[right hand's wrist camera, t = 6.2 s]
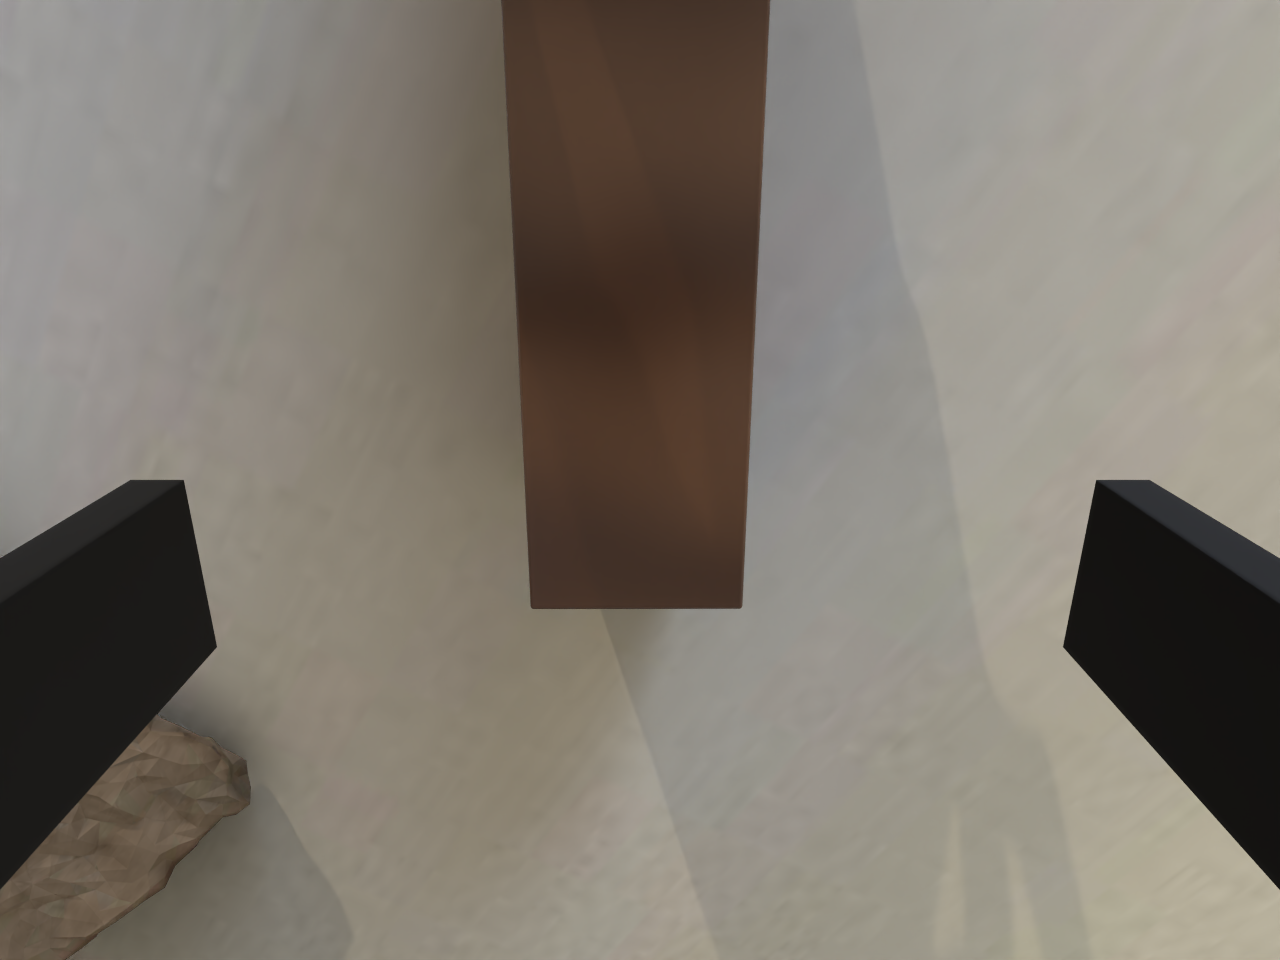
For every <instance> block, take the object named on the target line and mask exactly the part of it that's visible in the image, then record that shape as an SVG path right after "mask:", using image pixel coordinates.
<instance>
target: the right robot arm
mask: <svg viewBox="0 0 1280 960" xmlns="http://www.w3.org/2000/svg"><path fill="white" fill-rule="evenodd" d="M216 647H217V645H216V640H215V635H214V630H213V625H212V620H211V615H210V610H209V605H208V600H207V595H206V590H205V585H204V580H203V575H202V570H201V565H200V559H199V554H198V549H197V544H196V539H195V534H194V529H193V524H192V519H191V514H190V509H189V504H188V499H187V494H186V489H185V484H184V480H130V481H128V482H126V483H125V484H123V485H121V486H120V487H118V488H116V489H115V490H113V491H111V492H110V493H108V494H107V495H105V496H103V497H102V498H100V499H98V500H97V501H95V502H93V503H92V504H90V505H88V506H87V507H85V508H83V509H82V510H80V511H78V512H77V513H75V514H73V515H72V516H70V517H68V518H67V519H65V520H63V521H62V522H60V523H58V524H57V525H55V526H53V527H52V528H50V529H48V530H47V531H45V532H43V533H42V534H40V535H38V536H37V537H35V538H33V539H32V540H30V541H28V542H27V543H25V544H24V545H22V546H20V547H19V548H17V549H15V550H14V551H12V552H10V553H9V554H7V555H5V556H4V557H2V558H0V889H1V888H2V887H3V886H4V885H5V884H6V883H7V882H8V880H9V879H10V878H11V877H12V876H13V875H14V874H15V873H16V871H17V870H18V869H19V868H20V867H21V866H22V865H23V864H24V863H25V861H26V860H27V859H28V858H29V857H30V856H31V855H32V854H33V852H34V851H35V850H36V849H37V848H38V847H39V846H40V845H41V843H42V842H43V841H44V840H45V839H46V838H47V837H48V836H49V835H50V833H51V832H52V831H53V830H54V829H55V828H56V827H57V826H58V824H59V823H60V822H61V821H62V820H63V819H64V818H65V817H66V815H67V814H68V813H69V812H70V811H71V810H72V809H73V808H74V807H75V805H76V804H77V803H78V802H79V801H80V800H81V799H82V798H83V796H84V795H85V794H86V793H87V792H88V791H89V790H90V789H91V787H92V786H93V785H94V784H95V783H96V782H97V781H98V780H99V779H100V777H101V776H102V775H103V774H104V773H105V772H106V771H107V770H108V768H109V767H110V766H111V765H112V764H113V763H114V762H115V761H116V759H117V758H118V757H119V756H120V755H121V754H122V753H123V752H124V751H125V749H126V748H127V747H128V746H129V745H130V744H131V743H132V742H133V740H134V739H135V738H136V737H137V736H138V735H139V734H140V733H141V731H142V730H143V729H144V728H145V727H146V726H147V725H148V724H149V723H150V721H151V720H152V719H153V718H154V717H155V716H156V715H157V714H158V712H159V711H160V710H161V709H162V708H163V707H164V706H165V705H166V703H167V702H168V701H169V700H170V699H171V698H172V697H173V696H174V695H175V693H176V692H177V691H178V690H179V689H180V688H181V687H182V686H183V684H184V683H185V682H186V681H187V680H188V679H189V678H190V677H191V675H192V674H193V673H194V672H195V671H196V670H197V669H198V668H199V667H200V665H201V664H202V663H203V662H204V661H205V660H206V659H207V658H208V656H209V655H210V654H211V653H212V652H213V651H214V650H215V649H216ZM1063 647H1064V649H1065V650H1066V651H1067V652H1068V653H1069V654H1070V655H1071V656H1072V658H1073V659H1074V660H1075V661H1076V662H1077V663H1078V664H1079V665H1080V667H1081V668H1082V669H1083V670H1084V671H1085V672H1086V673H1087V674H1088V675H1089V677H1090V678H1091V679H1092V680H1093V681H1094V682H1095V683H1096V684H1097V686H1098V687H1099V688H1100V689H1101V690H1102V691H1103V692H1104V693H1105V695H1106V696H1107V697H1108V698H1109V699H1110V700H1111V701H1112V702H1113V703H1114V705H1115V706H1116V707H1117V708H1118V709H1119V710H1120V711H1121V712H1122V714H1123V715H1124V716H1125V717H1126V718H1127V719H1128V720H1129V721H1130V723H1131V724H1132V725H1133V726H1134V727H1135V728H1136V729H1137V730H1138V731H1139V733H1140V734H1141V735H1142V736H1143V737H1144V738H1145V739H1146V740H1147V742H1148V743H1149V744H1150V745H1151V746H1152V747H1153V748H1154V749H1155V751H1156V752H1157V753H1158V754H1159V755H1160V756H1161V757H1162V758H1163V759H1164V761H1165V762H1166V763H1167V764H1168V765H1169V766H1170V767H1171V768H1172V770H1173V771H1174V772H1175V773H1176V774H1177V775H1178V776H1179V777H1180V779H1181V780H1182V781H1183V782H1184V783H1185V784H1186V785H1187V786H1188V787H1189V789H1190V790H1191V791H1192V792H1193V793H1194V794H1195V795H1196V796H1197V798H1198V799H1199V800H1200V801H1201V802H1202V803H1203V804H1204V805H1205V807H1206V808H1207V809H1208V810H1209V811H1210V812H1211V813H1212V814H1213V815H1214V817H1215V818H1216V819H1217V820H1218V821H1219V822H1220V823H1221V824H1222V826H1223V827H1224V828H1225V829H1226V830H1227V831H1228V832H1229V833H1230V835H1231V836H1232V837H1233V838H1234V839H1235V840H1236V841H1237V842H1238V843H1239V845H1240V846H1241V847H1242V848H1243V849H1244V850H1245V851H1246V852H1247V854H1248V855H1249V856H1250V857H1251V858H1252V859H1253V860H1254V861H1255V863H1256V864H1257V865H1258V866H1259V867H1260V868H1261V869H1262V870H1263V871H1264V873H1265V874H1266V875H1267V876H1268V877H1269V878H1270V879H1271V880H1272V882H1273V883H1274V884H1275V885H1276V886H1277V887H1278V888H1279V889H1280V558H1278V557H1276V556H1275V555H1273V554H1271V553H1270V552H1268V551H1266V550H1265V549H1263V548H1261V547H1260V546H1258V545H1256V544H1255V543H1253V542H1252V541H1250V540H1248V539H1247V538H1245V537H1243V536H1242V535H1240V534H1238V533H1237V532H1235V531H1233V530H1232V529H1230V528H1228V527H1227V526H1225V525H1223V524H1222V523H1220V522H1218V521H1217V520H1215V519H1213V518H1212V517H1210V516H1208V515H1207V514H1205V513H1203V512H1202V511H1200V510H1198V509H1197V508H1195V507H1193V506H1192V505H1190V504H1188V503H1187V502H1185V501H1183V500H1182V499H1180V498H1178V497H1177V496H1175V495H1173V494H1172V493H1170V492H1169V491H1167V490H1165V489H1164V488H1162V487H1160V486H1159V485H1157V484H1155V483H1154V482H1152V481H1150V480H1096V484H1095V489H1094V494H1093V499H1092V504H1091V509H1090V514H1089V519H1088V524H1087V529H1086V534H1085V539H1084V544H1083V549H1082V554H1081V559H1080V565H1079V570H1078V575H1077V580H1076V585H1075V590H1074V595H1073V600H1072V605H1071V610H1070V615H1069V620H1068V625H1067V630H1066V635H1065V640H1064V645H1063Z"/></svg>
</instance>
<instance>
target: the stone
mask: <svg viewBox="0 0 1280 960" xmlns="http://www.w3.org/2000/svg"><path fill="white" fill-rule="evenodd" d="M250 789H251V787H250V782H249V778H248V773H247V764H246V760H244V759H243V758H241V757H240V756H238V755H236V754H234V753H232V752H230V751H228V750H226V749H224V748H222V747H220V746H219V745H218V744H217V743H216V742H215V741H214V740H213V739H212V738H211V737H203V736H199V735H197V734H195V733H193V732H191V731H189V730H187V729H185V728H183V727H181V726H178V725H176V724H174V723H171V722H169V721H167V720H164V719H162V718H160V717H159V716H158V715H156V716H155V717H154V718H153V719H152V720H151V721H150V723H149V724H148V725H147V726H146V727H145V728H144V729H143V730H142V731H141V733H140V734H139V735H138V736H137V737H136V738H135V739H134V740H133V742H132V743H131V744H130V745H129V746H128V747H127V748H126V749H125V751H124V752H123V753H122V754H121V755H120V756H119V757H118V758H117V759H116V761H115V762H114V763H113V764H112V765H111V766H110V767H109V768H108V770H107V771H106V772H105V773H104V774H103V775H102V776H101V777H100V779H99V780H98V781H97V782H96V783H95V784H94V785H93V786H92V787H91V789H90V790H89V791H88V792H87V793H86V794H85V795H84V796H83V798H82V799H81V800H80V801H79V802H78V803H77V804H76V805H75V807H74V808H73V809H72V810H71V811H70V812H69V813H68V814H67V815H66V817H65V818H64V819H63V820H62V821H61V822H60V823H59V824H58V826H57V827H56V828H55V829H54V830H53V831H52V832H51V833H50V835H49V836H48V837H47V838H46V839H45V840H44V841H43V842H42V843H41V845H40V846H39V847H38V848H37V849H36V850H35V851H34V852H33V854H32V855H31V856H30V857H29V858H28V859H27V860H26V861H25V863H24V864H23V865H22V866H21V867H20V868H19V869H18V870H17V871H16V873H15V874H14V875H13V876H12V877H11V878H10V879H9V880H8V882H7V883H6V884H5V885H4V886H3V887H2V888H1V889H0V960H66V959H67V958H68V957H70V956H71V955H73V954H74V953H75V952H77V951H78V950H80V949H81V948H82V947H84V946H85V945H86V944H87V943H89V942H90V941H91V940H92V939H94V938H95V937H96V936H97V934H98V933H99V932H101V931H102V930H104V929H105V928H107V927H109V926H110V925H112V924H113V923H115V922H116V921H118V920H119V919H121V918H122V917H123V916H125V915H126V914H127V913H129V912H130V911H131V910H133V909H134V908H135V907H137V906H138V905H139V904H141V903H142V902H143V901H145V900H146V899H148V898H150V897H151V896H153V895H154V894H156V893H157V892H159V891H160V890H162V889H163V888H165V886H166V884H167V882H168V880H169V878H170V875H171V873H172V871H173V869H174V867H175V865H176V864H177V863H178V862H180V861H181V860H182V859H183V858H184V857H185V856H186V855H187V854H188V853H189V852H190V851H191V850H192V849H194V848H195V847H196V846H197V844H198V842H199V840H200V839H201V838H202V837H203V836H204V835H205V834H206V833H207V832H208V831H209V830H210V829H211V828H212V827H213V826H214V825H215V824H216V823H217V822H218V821H219V820H220V819H221V818H222V817H226V816H231V815H236V814H237V813H239V812H240V811H241V810H243V809H244V808H245V807H247V806H248V805H249V804H250Z"/></svg>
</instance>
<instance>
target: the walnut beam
mask: <svg viewBox="0 0 1280 960" xmlns="http://www.w3.org/2000/svg"><path fill="white" fill-rule="evenodd" d="M501 2H502V23H503V43H504V64H505V85H506V105H507V126H508V147H509V168H510V188H511V209H512V230H513V250H514V271H515V292H516V312H517V333H518V354H519V374H520V395H521V416H522V436H523V457H524V478H525V498H526V519H527V540H528V560H529V581H530V602H531V607H532V608H533V609H740V608H741V607H742V602H743V581H744V559H745V537H746V515H747V493H748V472H749V450H750V428H751V406H752V385H753V363H754V341H755V319H756V297H757V276H758V254H759V232H760V210H761V189H762V167H763V145H764V123H765V101H766V80H767V58H768V36H769V14H770V0H501Z"/></svg>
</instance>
